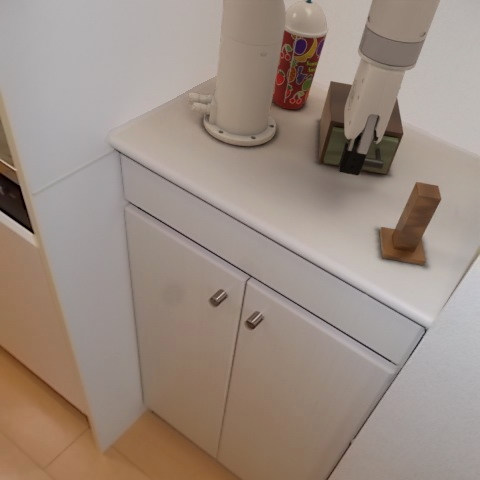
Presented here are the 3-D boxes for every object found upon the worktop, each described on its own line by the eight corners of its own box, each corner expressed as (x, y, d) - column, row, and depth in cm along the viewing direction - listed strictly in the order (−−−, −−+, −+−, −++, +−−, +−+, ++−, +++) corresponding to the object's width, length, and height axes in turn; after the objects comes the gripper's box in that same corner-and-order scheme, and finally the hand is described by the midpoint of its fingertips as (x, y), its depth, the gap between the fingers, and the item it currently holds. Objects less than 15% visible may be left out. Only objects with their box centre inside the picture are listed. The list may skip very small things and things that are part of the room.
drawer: (388, 190, 83) (401, 158, 78) (323, 179, 83) (333, 146, 78) (381, 134, 94) (392, 103, 90) (324, 124, 94) (332, 92, 89)
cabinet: (387, 174, 87) (403, 133, 82) (318, 162, 87) (330, 120, 81) (381, 132, 96) (396, 92, 90) (319, 121, 96) (330, 80, 90)
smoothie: (307, 117, 96) (336, -3, 81) (263, 107, 97) (283, -15, 81) (312, 96, 102) (340, -20, 87) (270, 87, 102) (290, -31, 87)
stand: (382, 258, 73) (408, 200, 66) (379, 230, 77) (404, 173, 70) (423, 265, 74) (454, 208, 66) (419, 237, 78) (447, 180, 70)
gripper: (359, 17, 70) (325, 140, 84) (362, 65, 60) (323, 195, 74) (414, 28, 70) (371, 149, 84) (426, 77, 61) (375, 205, 75)
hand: (348, 170), depth 79 cm, fingers closed
